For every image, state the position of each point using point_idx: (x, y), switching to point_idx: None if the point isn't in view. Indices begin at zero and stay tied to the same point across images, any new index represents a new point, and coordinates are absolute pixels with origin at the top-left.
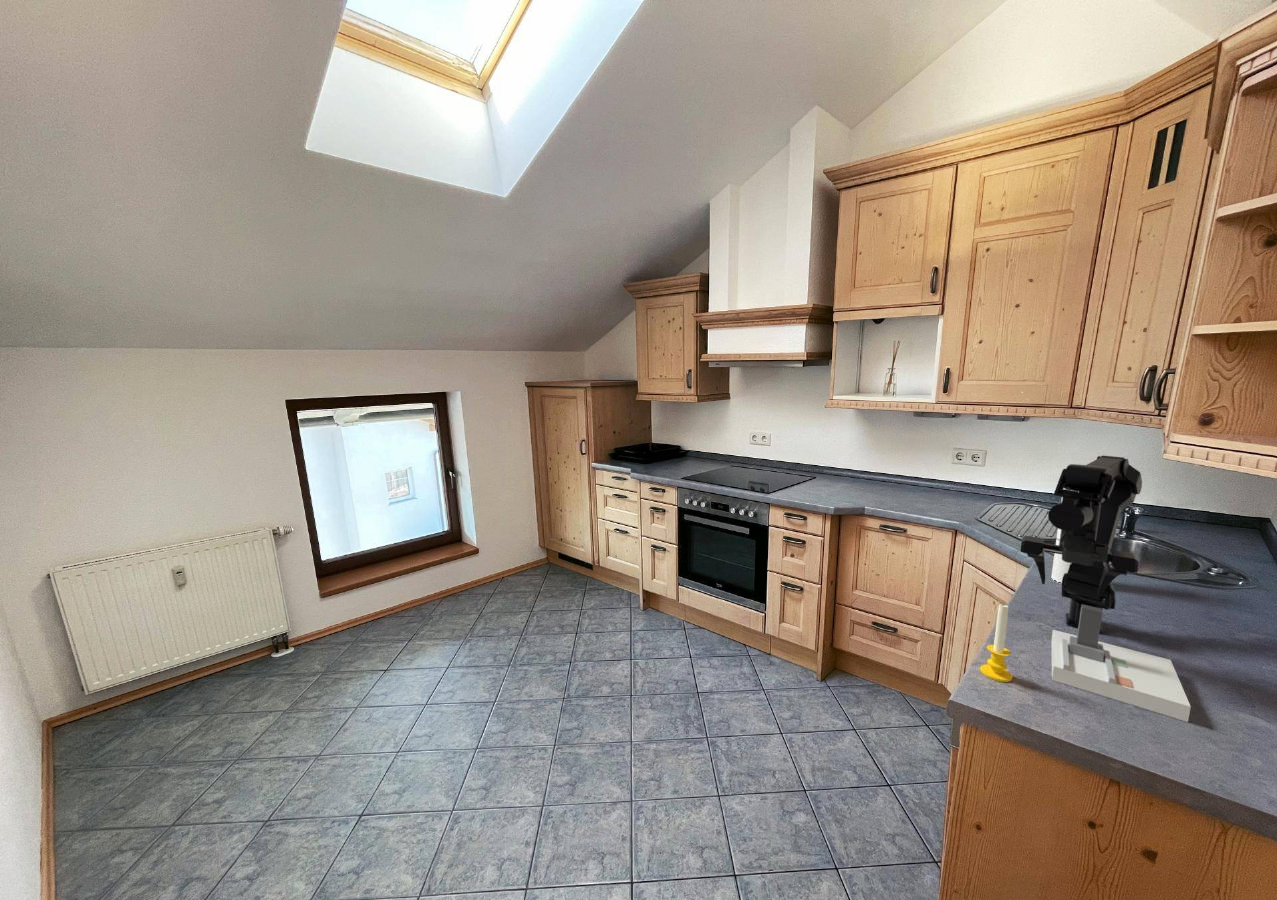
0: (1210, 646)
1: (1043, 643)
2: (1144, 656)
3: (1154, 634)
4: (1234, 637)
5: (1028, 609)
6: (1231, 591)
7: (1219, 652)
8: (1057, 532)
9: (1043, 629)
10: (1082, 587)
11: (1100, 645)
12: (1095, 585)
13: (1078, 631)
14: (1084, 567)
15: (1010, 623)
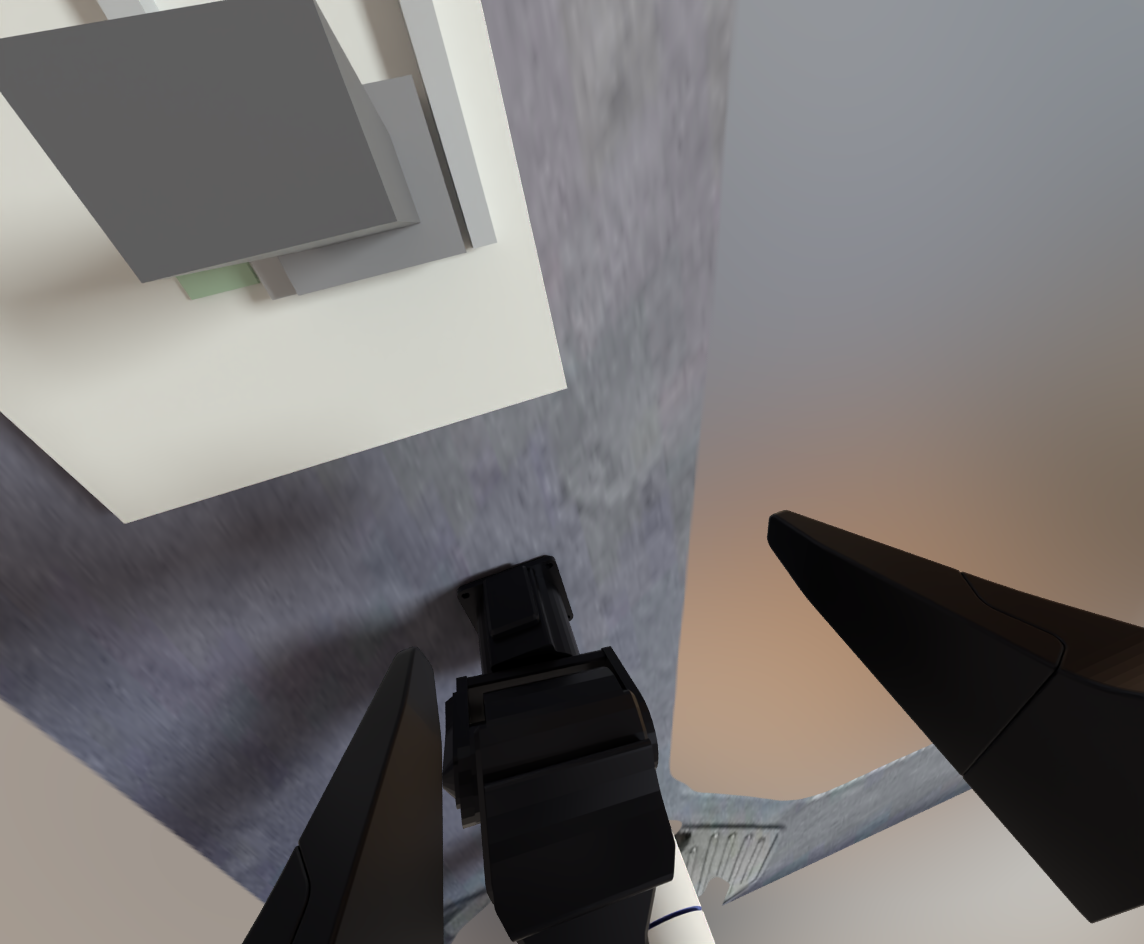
0: (251, 754)
1: (568, 320)
2: (198, 456)
3: (369, 701)
4: (257, 826)
5: (658, 560)
6: None
7: (215, 745)
8: (713, 939)
9: (596, 456)
10: (564, 720)
11: (294, 262)
12: (518, 771)
13: (387, 140)
14: (608, 874)
15: (692, 401)
